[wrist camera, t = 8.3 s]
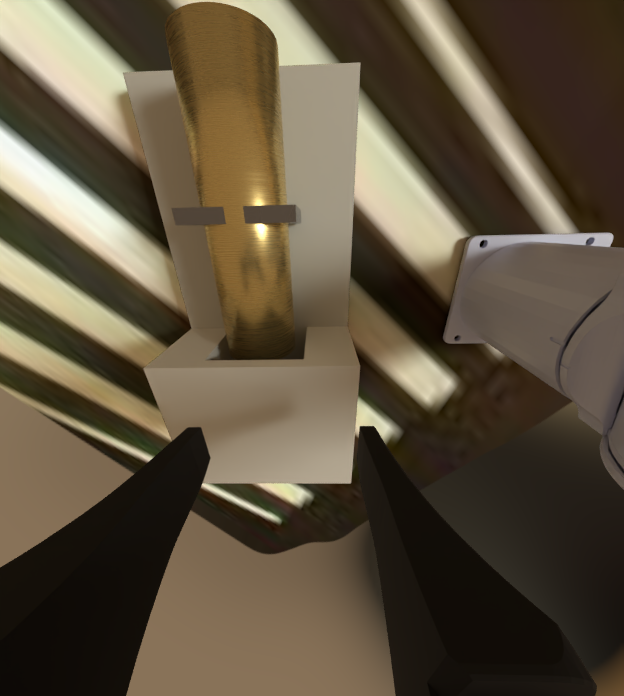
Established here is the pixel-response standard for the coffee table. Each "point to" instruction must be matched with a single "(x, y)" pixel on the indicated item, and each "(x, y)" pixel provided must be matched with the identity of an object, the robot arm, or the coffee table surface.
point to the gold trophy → (237, 169)
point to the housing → (307, 288)
